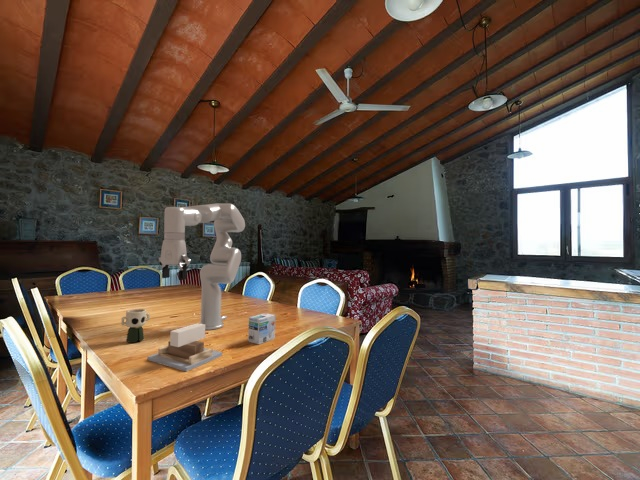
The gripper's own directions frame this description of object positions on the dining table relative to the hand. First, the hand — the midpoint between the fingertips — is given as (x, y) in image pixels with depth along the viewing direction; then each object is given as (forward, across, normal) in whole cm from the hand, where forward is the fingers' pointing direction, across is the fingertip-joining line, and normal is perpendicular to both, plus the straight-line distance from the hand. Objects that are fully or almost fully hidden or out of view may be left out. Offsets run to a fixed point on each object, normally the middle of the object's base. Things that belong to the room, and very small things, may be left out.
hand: (174, 278), depth 120 cm
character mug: (+28, -18, -4) cm, 33 cm away
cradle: (+26, +16, -8) cm, 32 cm away
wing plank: (+21, +16, -7) cm, 27 cm away
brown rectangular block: (+26, +16, -8) cm, 31 cm away
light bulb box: (+28, +28, +23) cm, 46 cm away
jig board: (+27, +15, -7) cm, 32 cm away
